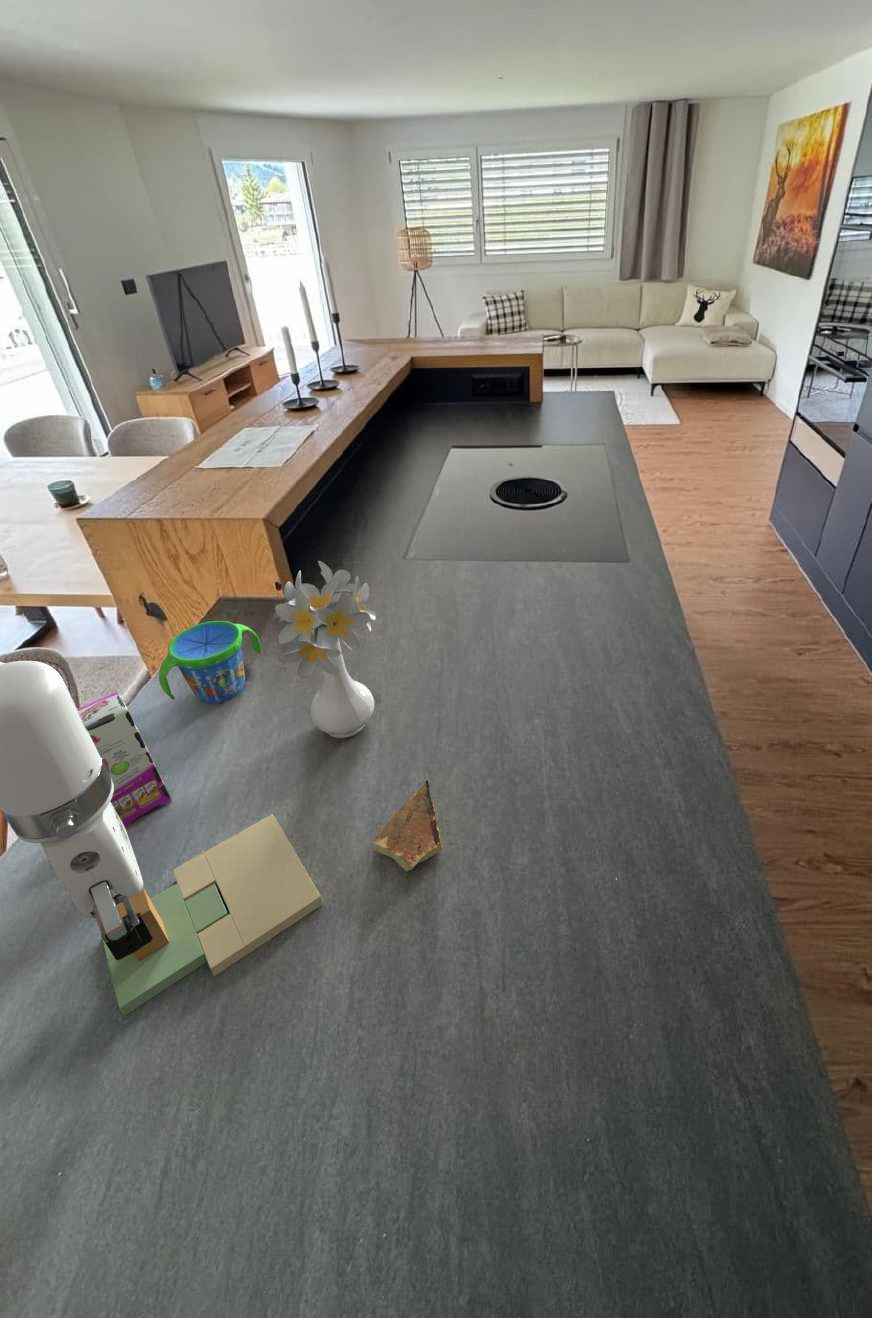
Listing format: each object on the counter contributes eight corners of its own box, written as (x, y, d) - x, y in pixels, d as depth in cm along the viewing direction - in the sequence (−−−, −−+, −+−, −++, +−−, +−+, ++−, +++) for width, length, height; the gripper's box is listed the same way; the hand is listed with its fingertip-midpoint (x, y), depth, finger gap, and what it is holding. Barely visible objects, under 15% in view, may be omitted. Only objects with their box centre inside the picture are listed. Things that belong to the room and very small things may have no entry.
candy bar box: (161, 779, 85) (119, 688, 77) (173, 801, 82) (130, 709, 73) (70, 827, 79) (12, 734, 70) (78, 853, 76) (20, 759, 67)
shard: (428, 787, 82) (427, 777, 81) (475, 813, 78) (474, 804, 78) (371, 848, 75) (369, 838, 74) (419, 880, 71) (418, 871, 70)
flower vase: (304, 784, 84) (260, 634, 70) (304, 694, 99) (268, 557, 86) (400, 762, 86) (376, 614, 73) (385, 678, 101) (363, 543, 88)
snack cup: (254, 654, 108) (239, 605, 103) (281, 682, 102) (267, 632, 96) (161, 696, 100) (140, 646, 94) (184, 731, 93) (162, 679, 88)
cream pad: (214, 976, 63) (210, 968, 62) (176, 877, 73) (172, 869, 72) (323, 903, 69) (320, 895, 68) (275, 821, 79) (272, 813, 78)
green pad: (124, 1015, 60) (95, 976, 56) (104, 935, 67) (77, 894, 63) (239, 940, 66) (221, 899, 62) (210, 873, 73) (191, 832, 69)
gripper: (130, 839, 49) (188, 955, 58) (89, 717, 61) (142, 829, 70) (18, 896, 45) (98, 1010, 54) (-3, 754, 57) (66, 868, 66)
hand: (123, 908), depth 62 cm, fingers open, 9 cm apart
